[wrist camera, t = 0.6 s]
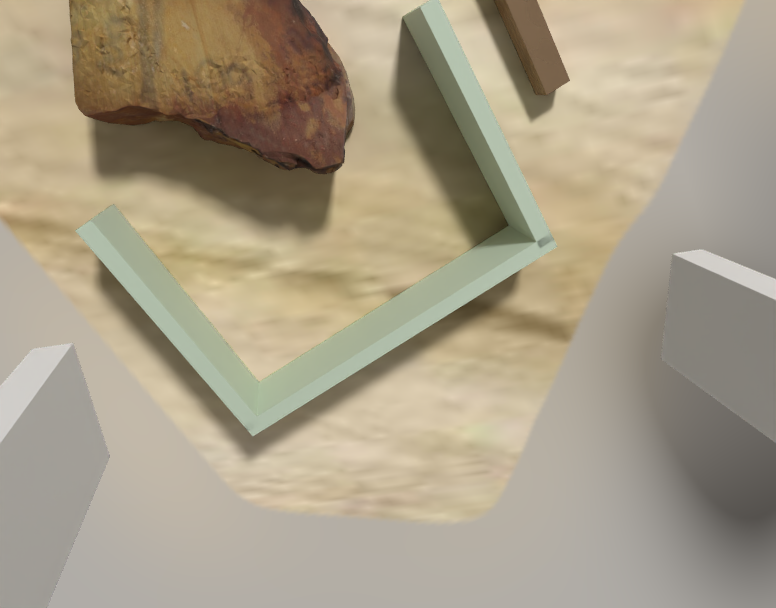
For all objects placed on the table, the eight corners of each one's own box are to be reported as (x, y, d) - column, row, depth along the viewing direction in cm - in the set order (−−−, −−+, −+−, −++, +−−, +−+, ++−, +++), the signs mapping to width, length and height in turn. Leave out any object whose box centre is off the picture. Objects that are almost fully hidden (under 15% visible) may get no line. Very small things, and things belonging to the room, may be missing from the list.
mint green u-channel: (99, 213, 34) (75, 230, 30) (417, 7, 33) (436, -4, 29) (255, 400, 40) (252, 436, 36) (527, 229, 39) (557, 246, 35)
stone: (68, 103, 32) (33, 106, 27) (92, -81, 30) (58, -114, 25) (331, 176, 36) (340, 190, 31) (372, 20, 34) (389, 9, 29)
